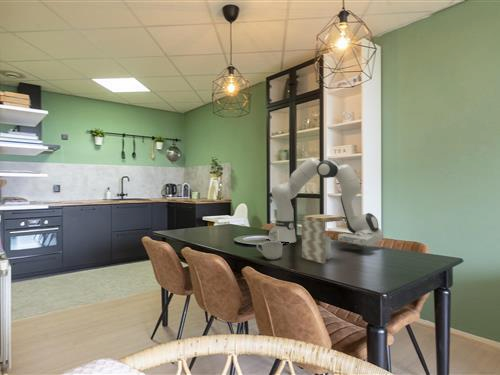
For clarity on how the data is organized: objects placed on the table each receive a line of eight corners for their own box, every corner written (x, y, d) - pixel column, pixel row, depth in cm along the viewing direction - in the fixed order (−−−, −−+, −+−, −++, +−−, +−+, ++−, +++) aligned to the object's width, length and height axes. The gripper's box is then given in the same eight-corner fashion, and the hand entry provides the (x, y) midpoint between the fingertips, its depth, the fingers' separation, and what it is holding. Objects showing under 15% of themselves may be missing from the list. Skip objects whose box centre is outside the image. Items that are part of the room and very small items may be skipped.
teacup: (286, 257, 162) (285, 242, 162) (277, 261, 152) (277, 245, 152) (262, 254, 169) (262, 239, 169) (253, 258, 159) (253, 243, 159)
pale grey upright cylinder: (316, 257, 160) (316, 236, 160) (324, 256, 163) (324, 235, 163) (325, 260, 155) (324, 238, 155) (333, 258, 158) (333, 237, 158)
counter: (301, 257, 160) (301, 215, 160) (320, 254, 168) (320, 214, 168) (323, 263, 148) (323, 218, 148) (342, 259, 156) (342, 216, 155)
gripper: (347, 230, 184) (331, 232, 177) (377, 235, 167) (361, 237, 160) (347, 240, 184) (331, 243, 177) (377, 246, 167) (361, 249, 160)
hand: (345, 240), depth 168 cm, fingers open, 8 cm apart
